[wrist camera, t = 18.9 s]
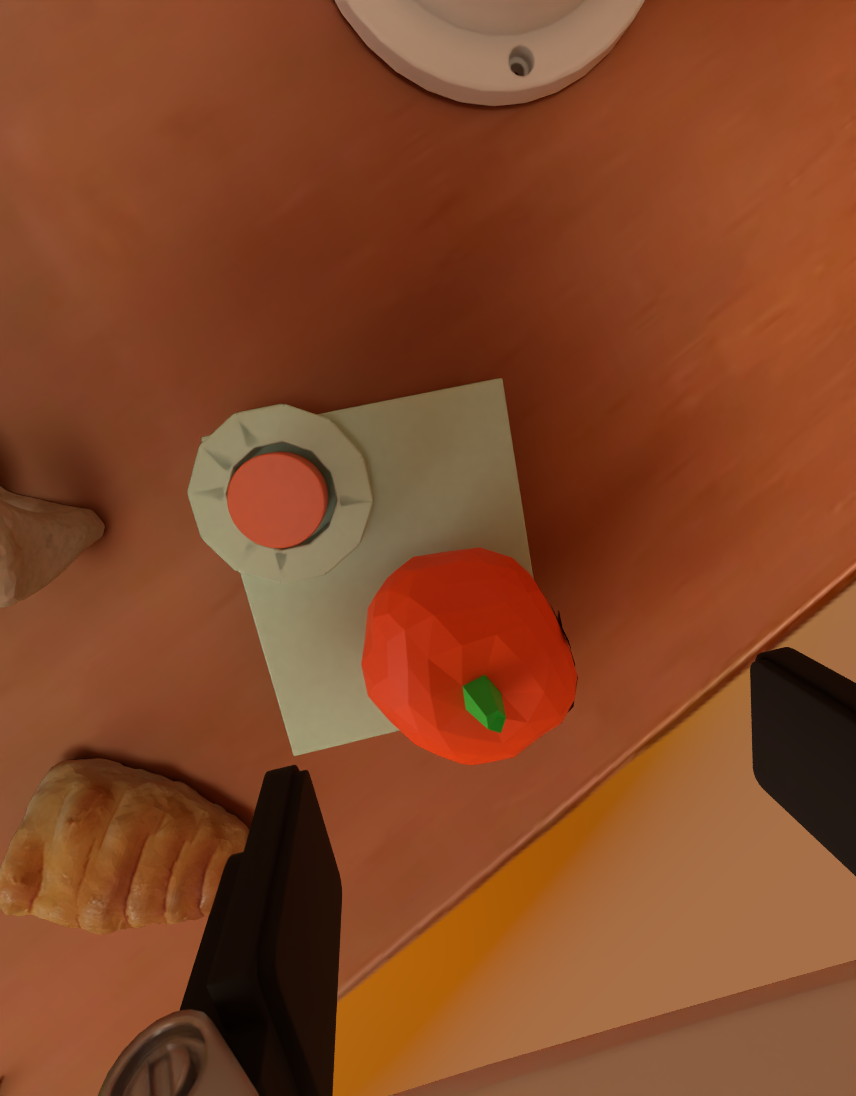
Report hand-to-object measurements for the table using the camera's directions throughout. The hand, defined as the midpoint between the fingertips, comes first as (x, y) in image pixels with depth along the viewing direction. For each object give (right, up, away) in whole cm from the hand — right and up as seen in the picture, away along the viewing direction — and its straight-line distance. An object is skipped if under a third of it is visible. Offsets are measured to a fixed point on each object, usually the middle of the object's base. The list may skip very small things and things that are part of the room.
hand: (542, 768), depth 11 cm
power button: (-7, +6, +7) cm, 12 cm away
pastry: (-15, -8, +13) cm, 21 cm away
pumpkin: (-1, +1, +10) cm, 11 cm away
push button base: (-4, +4, +11) cm, 13 cm away
